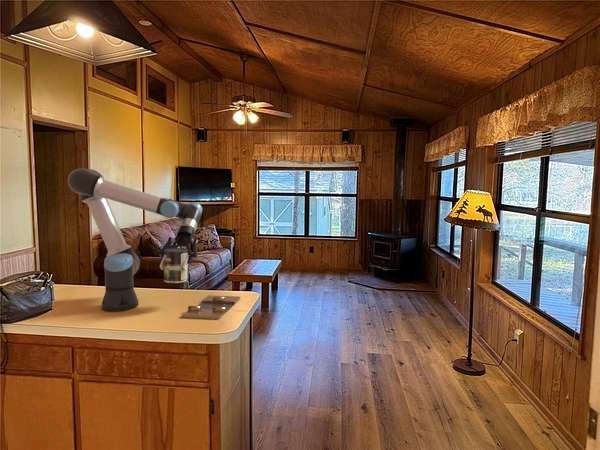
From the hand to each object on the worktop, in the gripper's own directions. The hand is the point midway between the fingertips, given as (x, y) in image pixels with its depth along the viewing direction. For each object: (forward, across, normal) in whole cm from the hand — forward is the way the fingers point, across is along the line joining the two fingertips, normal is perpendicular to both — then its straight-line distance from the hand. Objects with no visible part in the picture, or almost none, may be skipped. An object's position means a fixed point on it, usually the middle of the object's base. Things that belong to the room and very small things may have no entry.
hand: (172, 268), depth 176 cm
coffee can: (+2, 0, -7) cm, 7 cm away
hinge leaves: (+10, -17, -15) cm, 25 cm away
